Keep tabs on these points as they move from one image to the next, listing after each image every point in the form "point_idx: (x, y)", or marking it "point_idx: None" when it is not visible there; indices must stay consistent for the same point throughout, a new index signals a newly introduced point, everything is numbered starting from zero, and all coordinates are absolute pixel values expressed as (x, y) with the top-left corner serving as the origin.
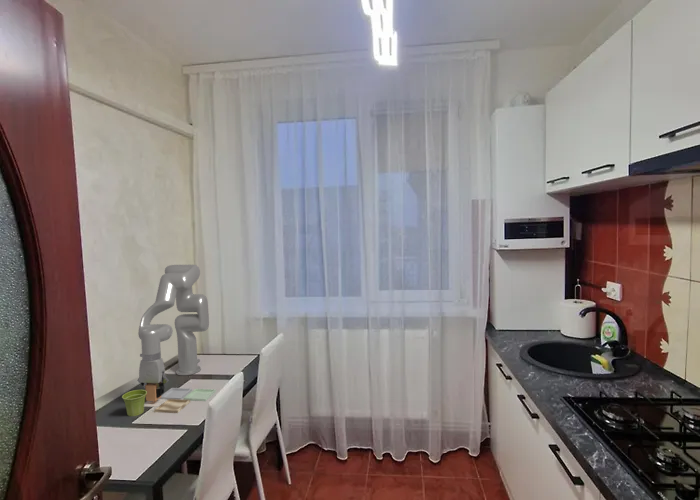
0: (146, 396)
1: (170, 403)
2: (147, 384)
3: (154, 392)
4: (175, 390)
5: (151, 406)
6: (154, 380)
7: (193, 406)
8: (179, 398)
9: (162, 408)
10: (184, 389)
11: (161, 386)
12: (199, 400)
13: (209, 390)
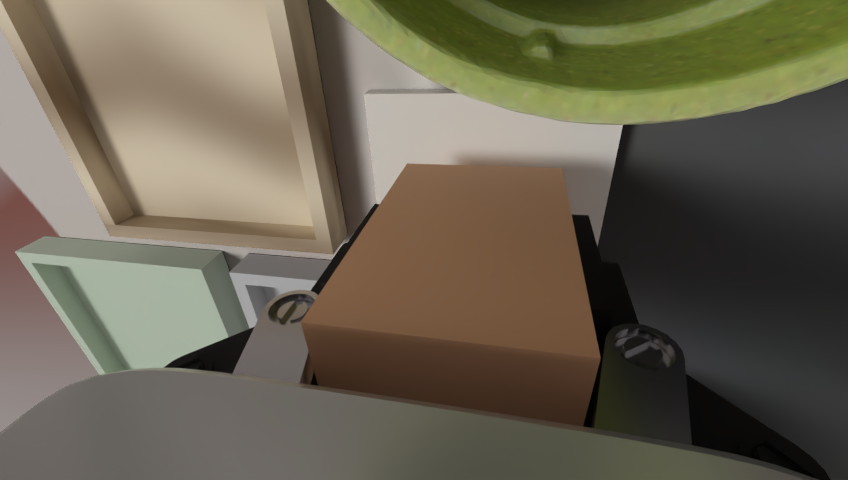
0: (556, 198)
1: (279, 191)
2: (567, 407)
3: (377, 229)
4: None
5: (446, 94)
6: (138, 458)
7: (53, 157)
8: (240, 270)
9: (265, 54)
10: None
11: (237, 335)
12: (77, 247)
13: None
